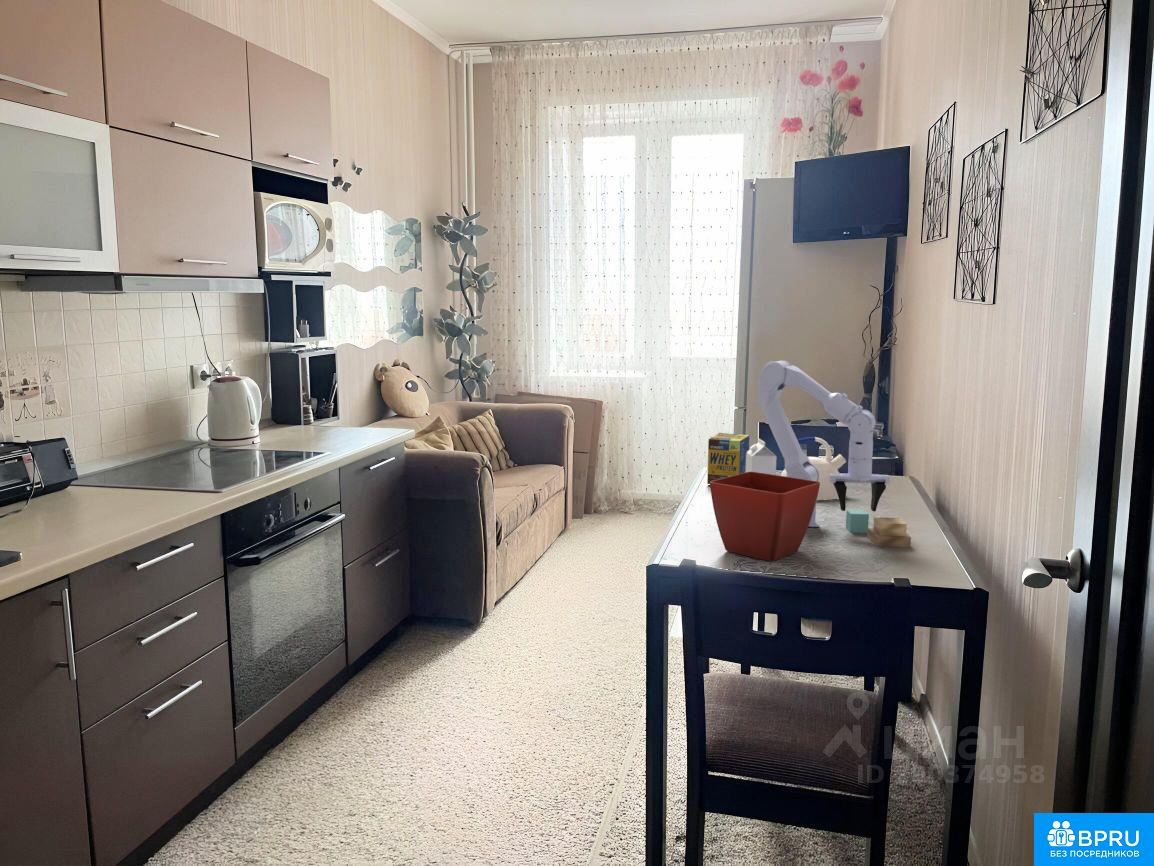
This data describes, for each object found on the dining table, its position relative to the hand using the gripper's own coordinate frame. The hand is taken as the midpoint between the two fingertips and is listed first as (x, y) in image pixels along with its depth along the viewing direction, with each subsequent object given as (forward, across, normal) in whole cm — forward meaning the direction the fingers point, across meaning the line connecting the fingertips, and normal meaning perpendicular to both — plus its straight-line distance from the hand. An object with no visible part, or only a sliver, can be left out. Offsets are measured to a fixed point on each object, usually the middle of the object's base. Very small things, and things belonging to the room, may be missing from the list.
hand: (858, 510), depth 219 cm
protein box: (+5, -27, +60) cm, 66 cm away
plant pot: (+6, -27, -22) cm, 35 cm away
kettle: (+6, -3, +45) cm, 46 cm away
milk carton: (+5, -21, +28) cm, 36 cm away
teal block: (+5, 0, 0) cm, 5 cm away
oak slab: (+3, +5, -11) cm, 12 cm away
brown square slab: (+6, +5, -11) cm, 13 cm away
